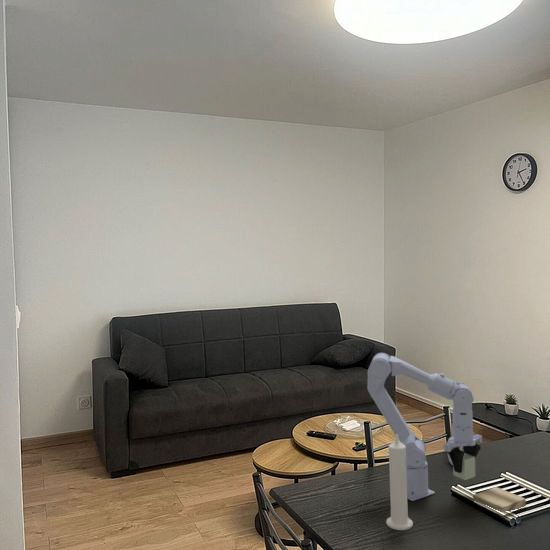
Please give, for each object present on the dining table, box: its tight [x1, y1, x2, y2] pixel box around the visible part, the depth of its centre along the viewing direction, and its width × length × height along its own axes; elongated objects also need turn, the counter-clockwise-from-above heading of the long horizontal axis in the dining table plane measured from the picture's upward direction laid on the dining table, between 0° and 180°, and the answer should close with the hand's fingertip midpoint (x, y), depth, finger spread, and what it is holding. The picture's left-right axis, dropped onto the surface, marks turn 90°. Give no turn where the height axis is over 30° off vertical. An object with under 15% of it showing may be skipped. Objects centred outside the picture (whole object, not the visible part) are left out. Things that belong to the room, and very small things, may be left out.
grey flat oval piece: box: [446, 436, 464, 466], centre depth 195 cm, size 10×4×10 cm, turn 179°
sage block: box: [452, 453, 476, 481], centre depth 171 cm, size 4×4×6 cm
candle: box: [386, 434, 414, 531], centre depth 155 cm, size 7×7×25 cm
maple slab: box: [472, 486, 527, 512], centre depth 165 cm, size 10×10×3 cm
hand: (463, 469), depth 172 cm, fingers closed on sage block, 4 cm apart
